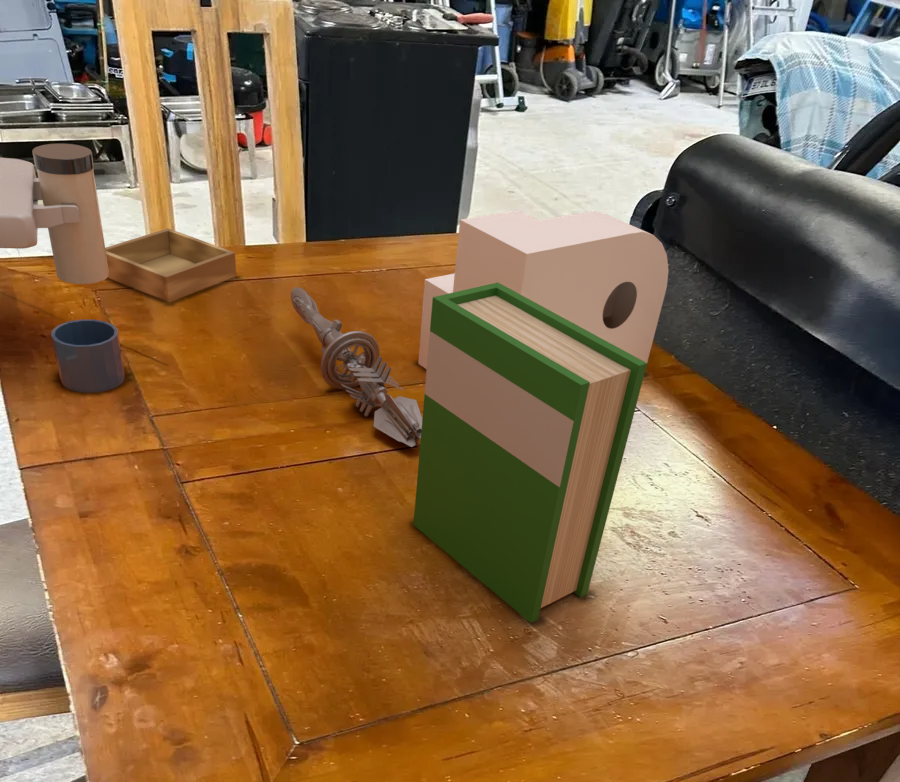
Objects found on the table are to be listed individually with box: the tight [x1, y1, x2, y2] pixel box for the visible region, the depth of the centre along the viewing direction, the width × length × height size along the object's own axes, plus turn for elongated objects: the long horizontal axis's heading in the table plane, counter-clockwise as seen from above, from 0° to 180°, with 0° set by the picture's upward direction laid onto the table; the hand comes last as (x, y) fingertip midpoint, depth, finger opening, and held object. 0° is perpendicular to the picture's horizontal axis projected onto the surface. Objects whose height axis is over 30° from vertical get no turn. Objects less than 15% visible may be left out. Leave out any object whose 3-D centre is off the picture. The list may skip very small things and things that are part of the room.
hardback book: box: [412, 282, 648, 624], centre depth 80 cm, size 18×7×24 cm, turn 39°
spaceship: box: [290, 286, 423, 449], centre depth 108 cm, size 8×35×8 cm
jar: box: [31, 143, 109, 285], centre depth 104 cm, size 6×6×14 cm
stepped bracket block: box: [417, 209, 670, 370], centre depth 113 cm, size 26×17×20 cm, turn 128°
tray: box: [105, 227, 237, 303], centre depth 130 cm, size 14×14×4 cm
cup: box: [50, 318, 126, 394], centre depth 104 cm, size 7×7×6 cm
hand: (78, 202), depth 103 cm, fingers closed on jar, 6 cm apart
